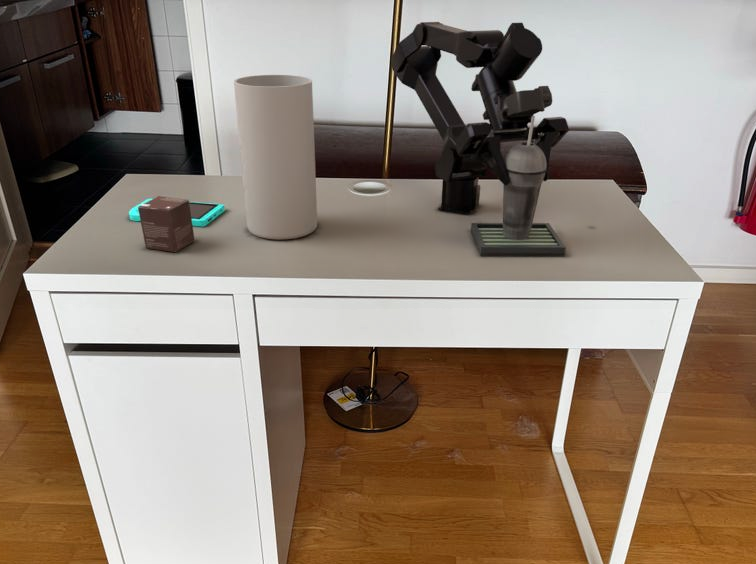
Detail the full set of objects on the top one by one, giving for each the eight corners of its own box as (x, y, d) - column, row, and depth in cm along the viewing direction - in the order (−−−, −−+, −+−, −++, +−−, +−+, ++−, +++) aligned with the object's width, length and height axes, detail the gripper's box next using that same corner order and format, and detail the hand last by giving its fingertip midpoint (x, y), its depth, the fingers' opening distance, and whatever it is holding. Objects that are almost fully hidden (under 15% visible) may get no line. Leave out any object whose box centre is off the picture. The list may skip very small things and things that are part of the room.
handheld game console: (150, 203, 135) (149, 196, 134) (226, 209, 132) (225, 202, 132) (123, 220, 126) (122, 212, 126) (204, 227, 124) (203, 219, 123)
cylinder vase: (330, 224, 126) (326, 78, 113) (291, 246, 116) (282, 89, 104) (275, 213, 131) (265, 72, 118) (233, 233, 121) (217, 82, 109)
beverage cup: (529, 227, 122) (545, 109, 111) (543, 242, 116) (561, 119, 105) (489, 228, 121) (502, 109, 110) (501, 243, 115) (515, 119, 104)
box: (195, 241, 118) (190, 199, 114) (175, 253, 113) (169, 210, 109) (165, 236, 119) (158, 195, 116) (144, 248, 114) (136, 205, 111)
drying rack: (480, 256, 113) (481, 247, 112) (470, 231, 124) (471, 222, 123) (564, 256, 114) (565, 247, 113) (547, 231, 124) (549, 222, 123)
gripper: (469, 69, 105) (497, 160, 102) (572, 65, 111) (602, 151, 108) (443, 112, 115) (468, 196, 112) (539, 106, 121) (565, 186, 118)
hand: (527, 182), depth 112 cm, fingers closed on beverage cup, 7 cm apart
